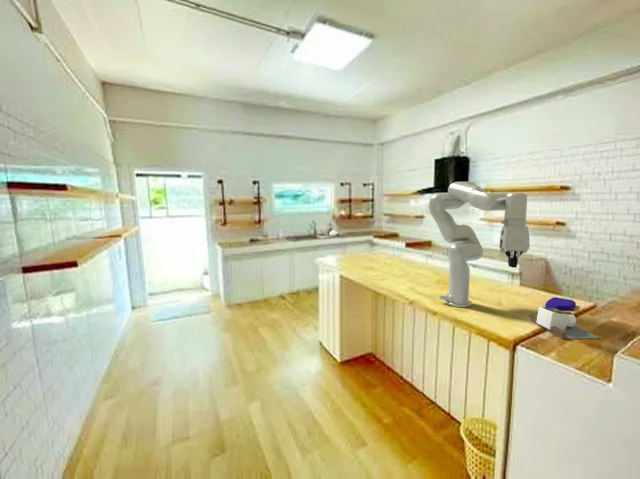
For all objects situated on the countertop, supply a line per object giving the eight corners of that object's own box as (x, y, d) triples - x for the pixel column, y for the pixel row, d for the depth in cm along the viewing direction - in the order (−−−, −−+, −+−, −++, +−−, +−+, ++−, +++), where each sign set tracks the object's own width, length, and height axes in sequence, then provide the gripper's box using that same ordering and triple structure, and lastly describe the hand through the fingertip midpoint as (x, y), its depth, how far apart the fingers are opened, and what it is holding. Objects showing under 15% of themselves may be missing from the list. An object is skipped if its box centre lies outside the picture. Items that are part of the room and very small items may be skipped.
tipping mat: (562, 339, 118) (562, 332, 117) (531, 321, 136) (531, 315, 135) (599, 338, 117) (600, 332, 117) (563, 320, 135) (564, 315, 135)
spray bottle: (551, 296, 161) (536, 308, 145) (577, 300, 153) (566, 314, 137) (550, 301, 162) (536, 314, 146) (577, 306, 154) (565, 320, 138)
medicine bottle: (538, 306, 130) (564, 308, 131) (535, 322, 130) (561, 324, 132) (552, 312, 123) (580, 314, 124) (549, 329, 123) (577, 331, 125)
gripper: (501, 224, 124) (499, 269, 126) (539, 223, 124) (536, 268, 126) (491, 222, 132) (489, 265, 134) (527, 222, 131) (525, 264, 133)
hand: (512, 266), depth 130 cm, fingers closed
